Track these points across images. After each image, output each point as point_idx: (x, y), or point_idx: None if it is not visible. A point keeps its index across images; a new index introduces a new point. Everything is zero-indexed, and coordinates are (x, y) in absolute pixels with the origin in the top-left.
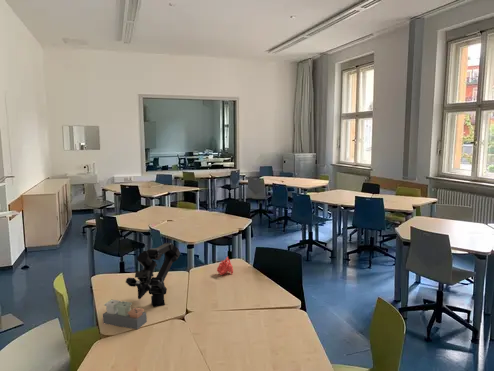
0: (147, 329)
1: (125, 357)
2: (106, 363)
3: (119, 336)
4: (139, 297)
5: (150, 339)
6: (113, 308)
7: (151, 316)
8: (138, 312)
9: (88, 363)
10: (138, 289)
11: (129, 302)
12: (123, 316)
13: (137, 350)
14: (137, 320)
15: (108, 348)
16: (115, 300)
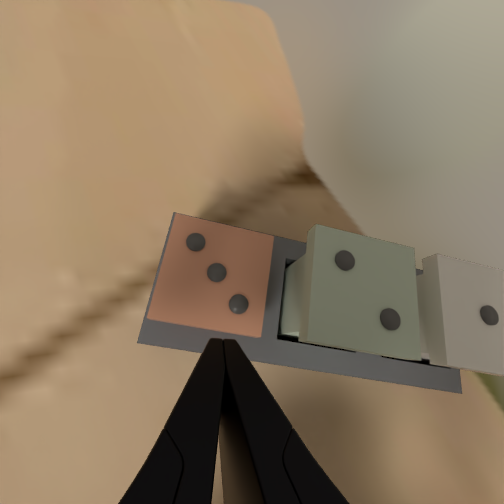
0: (108, 244)
1: (137, 27)
2: (198, 8)
3: (245, 171)
4: (213, 347)
5: (54, 142)
6: (418, 276)
7: (139, 440)
8: (174, 239)
9: (263, 18)
10: (309, 485)
11: (334, 337)
12: (300, 256)
13: (99, 63)
14: (172, 220)
15: (243, 87)
16: (495, 362)
